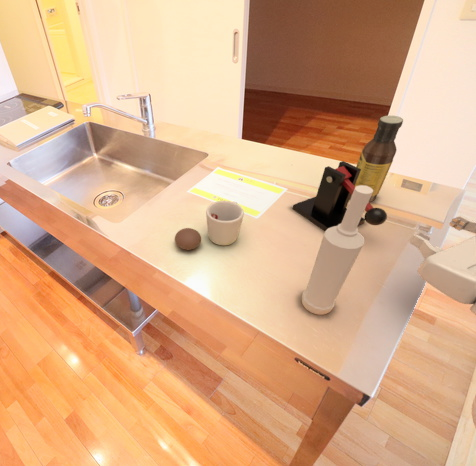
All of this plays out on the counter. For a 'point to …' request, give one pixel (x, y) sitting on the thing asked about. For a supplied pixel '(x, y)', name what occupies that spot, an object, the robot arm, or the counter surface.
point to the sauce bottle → (378, 155)
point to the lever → (372, 214)
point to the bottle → (336, 256)
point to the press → (329, 198)
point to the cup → (224, 221)
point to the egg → (188, 238)
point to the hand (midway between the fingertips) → (434, 228)
